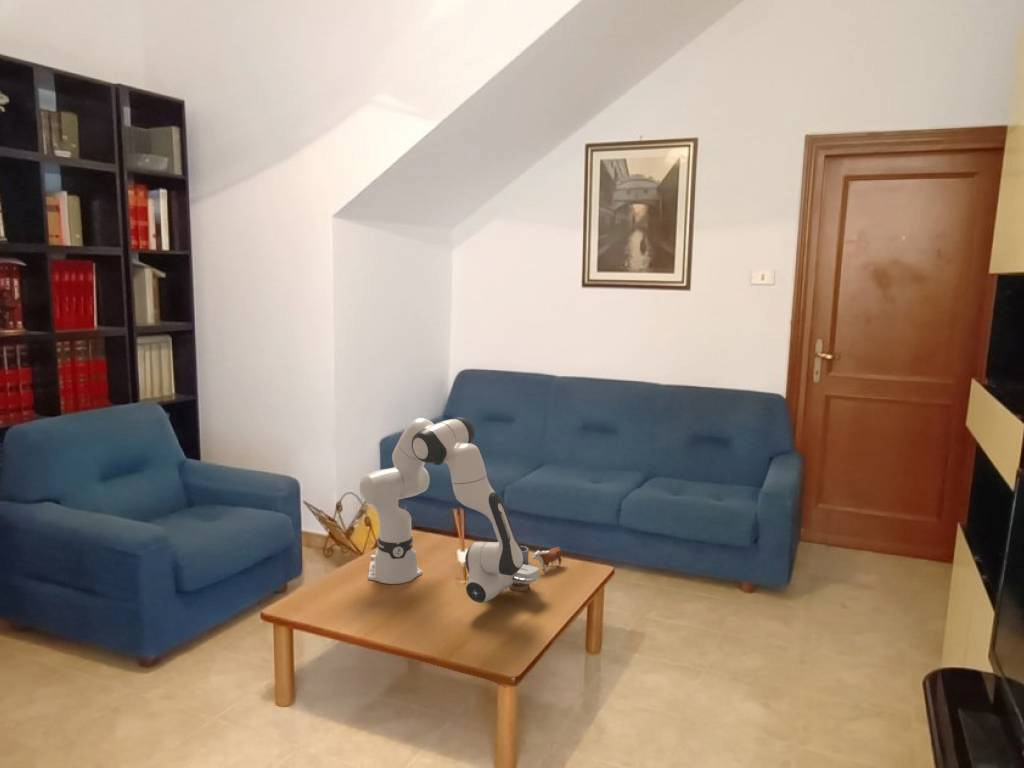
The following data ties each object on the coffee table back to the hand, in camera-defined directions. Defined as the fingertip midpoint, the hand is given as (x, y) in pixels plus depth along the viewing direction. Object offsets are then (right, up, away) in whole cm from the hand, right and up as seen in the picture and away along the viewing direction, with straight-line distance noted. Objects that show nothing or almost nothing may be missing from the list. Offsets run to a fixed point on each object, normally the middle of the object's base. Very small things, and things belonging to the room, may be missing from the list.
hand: (520, 562), depth 262 cm
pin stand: (-1, -9, +1) cm, 9 cm away
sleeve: (-1, -6, 0) cm, 6 cm away
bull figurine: (+10, -7, +16) cm, 20 cm away
